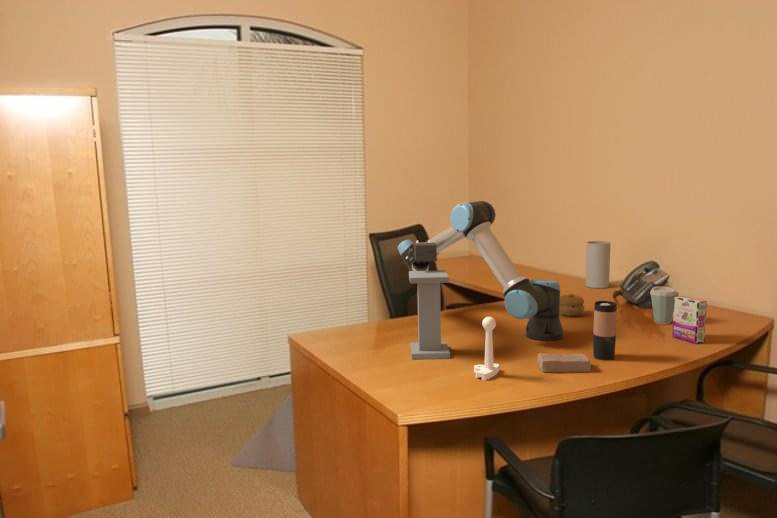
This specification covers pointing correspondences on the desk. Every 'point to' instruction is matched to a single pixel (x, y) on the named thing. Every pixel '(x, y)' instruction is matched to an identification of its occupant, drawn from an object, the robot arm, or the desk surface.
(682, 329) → the candy bar box
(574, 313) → the brown round lump
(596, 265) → the cylinder vase
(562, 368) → the brick
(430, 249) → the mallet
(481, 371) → the joystick
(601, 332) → the travel mug
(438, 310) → the stand
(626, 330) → the desk surface
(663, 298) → the disposable coffee cup
